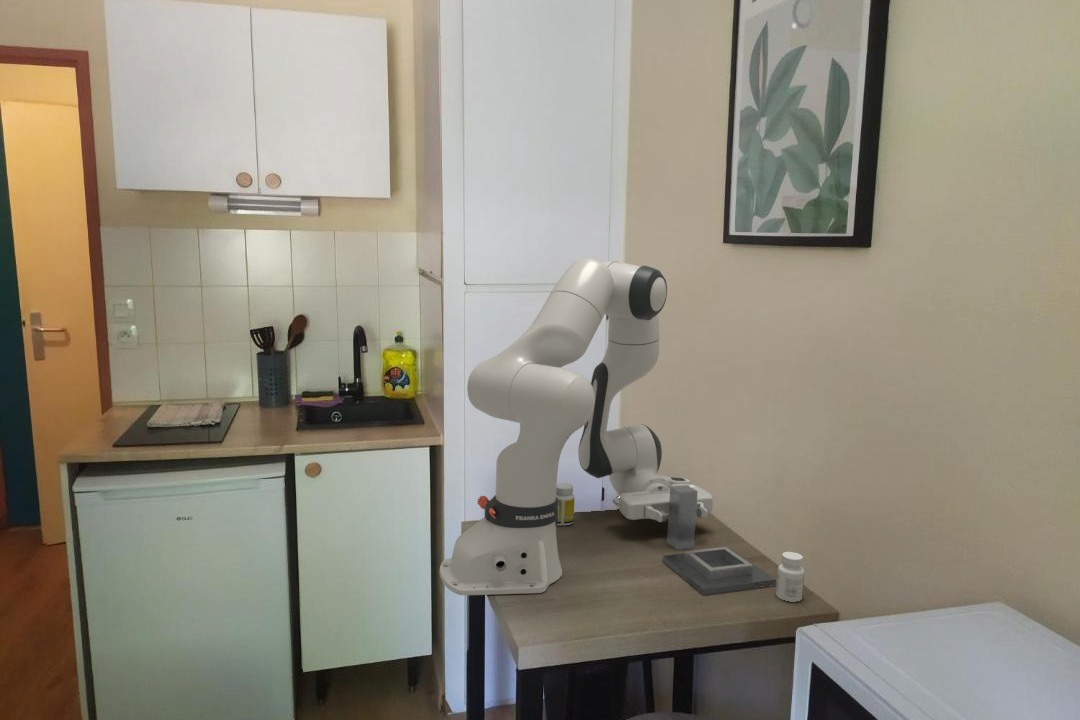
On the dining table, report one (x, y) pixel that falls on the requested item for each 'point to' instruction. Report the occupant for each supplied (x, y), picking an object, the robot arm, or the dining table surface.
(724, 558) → the block
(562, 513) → the supplement bottle
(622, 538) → the dining table surface
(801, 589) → the pill bottle
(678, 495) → the steel bar
